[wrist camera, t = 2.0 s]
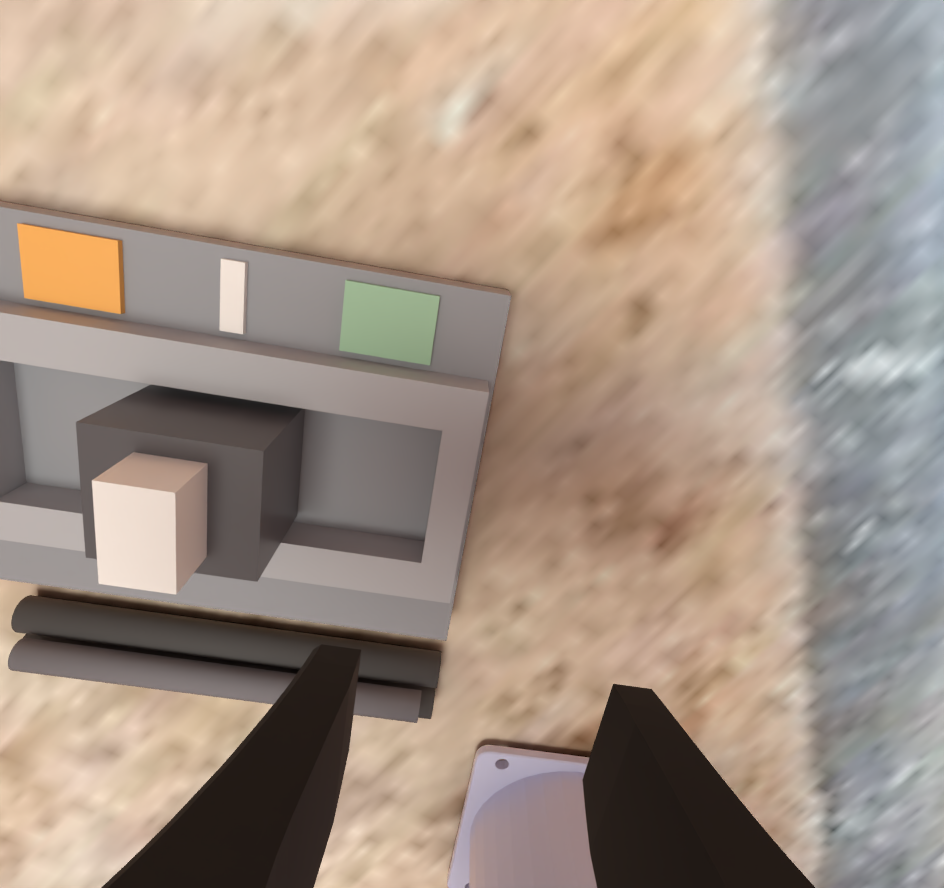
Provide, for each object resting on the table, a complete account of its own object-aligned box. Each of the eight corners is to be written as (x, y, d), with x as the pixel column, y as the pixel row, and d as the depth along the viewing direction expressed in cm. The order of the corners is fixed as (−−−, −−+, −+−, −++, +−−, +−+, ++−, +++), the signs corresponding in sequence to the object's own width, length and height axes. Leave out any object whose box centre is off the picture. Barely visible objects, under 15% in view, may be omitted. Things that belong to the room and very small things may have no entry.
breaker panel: (507, 289, 16) (514, 301, 14) (448, 611, 20) (444, 667, 18) (-8, 199, 16) (-101, 194, 13) (32, 552, 19) (-35, 602, 17)
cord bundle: (441, 644, 21) (438, 689, 19) (431, 700, 22) (427, 749, 20) (35, 588, 20) (-14, 629, 18) (42, 649, 21) (-4, 694, 19)
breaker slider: (304, 405, 16) (237, 479, 11) (297, 515, 17) (233, 621, 13) (155, 381, 16) (25, 447, 11) (158, 494, 17) (41, 595, 12)
